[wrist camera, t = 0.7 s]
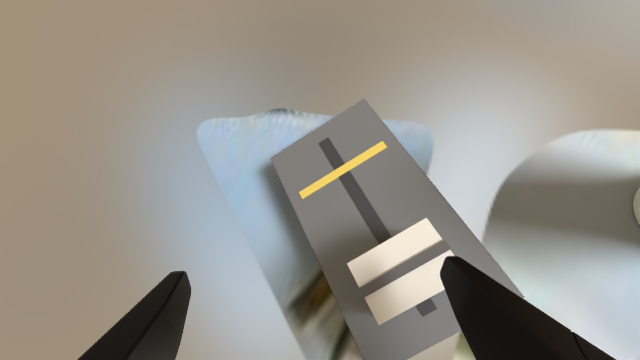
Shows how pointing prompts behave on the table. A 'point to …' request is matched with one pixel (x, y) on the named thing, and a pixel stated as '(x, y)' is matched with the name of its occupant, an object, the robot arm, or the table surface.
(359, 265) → the fader tab
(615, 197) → the table surface
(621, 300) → the table surface
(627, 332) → the table surface
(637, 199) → the beer glass
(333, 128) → the fader console
